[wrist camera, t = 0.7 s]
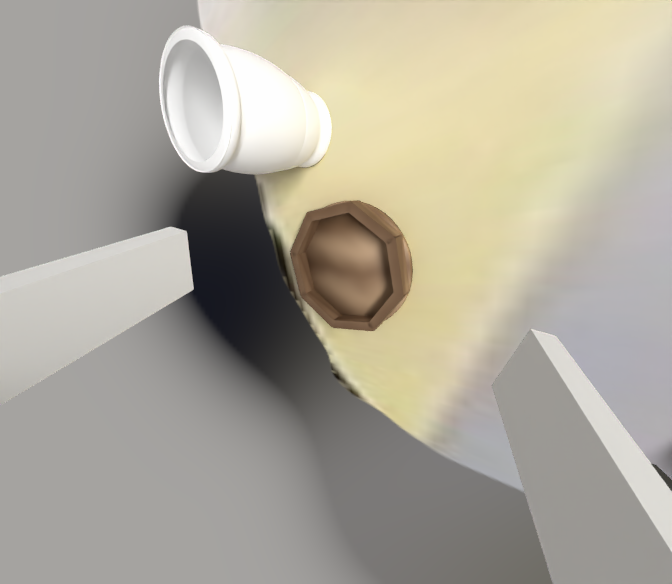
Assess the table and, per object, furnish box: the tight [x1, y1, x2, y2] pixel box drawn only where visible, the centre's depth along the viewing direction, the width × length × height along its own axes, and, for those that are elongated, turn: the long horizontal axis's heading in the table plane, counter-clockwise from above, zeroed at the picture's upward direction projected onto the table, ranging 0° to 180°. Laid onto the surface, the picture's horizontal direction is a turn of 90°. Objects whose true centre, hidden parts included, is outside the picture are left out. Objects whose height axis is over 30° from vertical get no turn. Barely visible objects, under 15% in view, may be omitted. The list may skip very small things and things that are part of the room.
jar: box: [159, 26, 332, 174], centre depth 28 cm, size 11×10×15 cm
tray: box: [290, 200, 413, 331], centre depth 35 cm, size 17×17×3 cm
